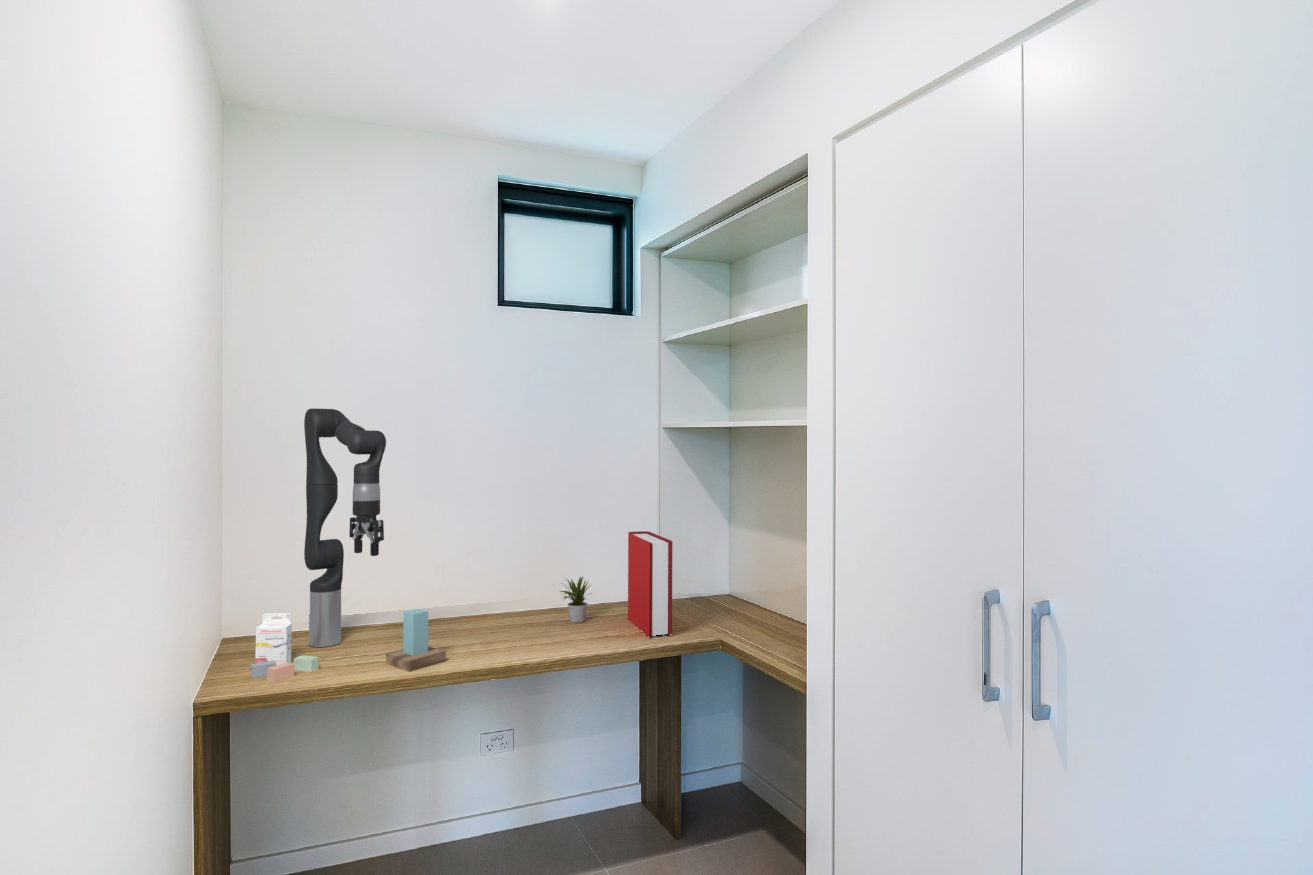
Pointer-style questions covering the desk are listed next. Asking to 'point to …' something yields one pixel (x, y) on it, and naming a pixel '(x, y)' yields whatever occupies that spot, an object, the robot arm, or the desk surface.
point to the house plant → (577, 601)
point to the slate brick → (261, 669)
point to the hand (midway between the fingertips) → (366, 554)
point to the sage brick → (306, 663)
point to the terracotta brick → (280, 672)
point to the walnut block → (415, 659)
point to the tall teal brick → (415, 632)
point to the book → (650, 582)
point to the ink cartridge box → (274, 639)
